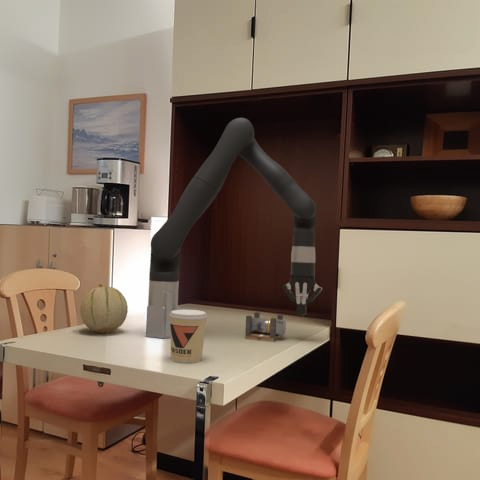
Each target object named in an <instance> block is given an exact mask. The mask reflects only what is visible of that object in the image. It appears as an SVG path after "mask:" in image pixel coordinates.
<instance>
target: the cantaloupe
mask: <svg viewBox="0 0 480 480" xmlns="http://www.w3.org/2000/svg"><path fill="white" fill-rule="evenodd" d="M128 307H129V306H128V302H127V300H126V298H125V296H124V295H123V293H122V292H121V291H120V290H119V289H118V288H115V287H112V286H105V285H104V284H102V283H100V284H99V285H98V286H97V287H93V288H92V289H90V290H89V291H88V292H87V293H86V294H85V295H84V297H83V298H82V301H81V303H80V311H79V313H80V318H81V320H82V321H81V322H82V323H83V324H84V325H85V326H86V327H87V329H89V330H90V331H93V332H97V333H99V334H106V333H109V332H113V331H115V330H117V329H119V328H120V327H121V326H122V325H123V324H124V323H125V321H126V319H127V317H128V315H127V314H128V310H129V309H128Z"/></svg>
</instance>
